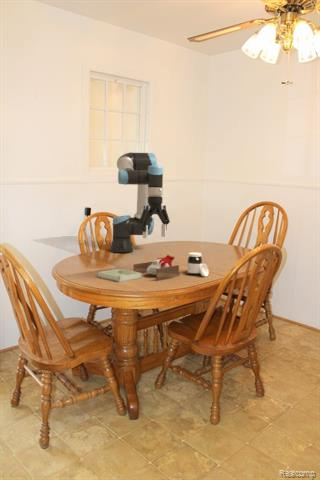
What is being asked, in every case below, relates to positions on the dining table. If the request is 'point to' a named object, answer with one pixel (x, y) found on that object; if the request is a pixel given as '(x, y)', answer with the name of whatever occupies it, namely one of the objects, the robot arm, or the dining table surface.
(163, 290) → the dining table surface
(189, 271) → the spread jar
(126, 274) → the sage tray
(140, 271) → the walnut holder
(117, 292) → the dining table surface
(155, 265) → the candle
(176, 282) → the dining table surface
